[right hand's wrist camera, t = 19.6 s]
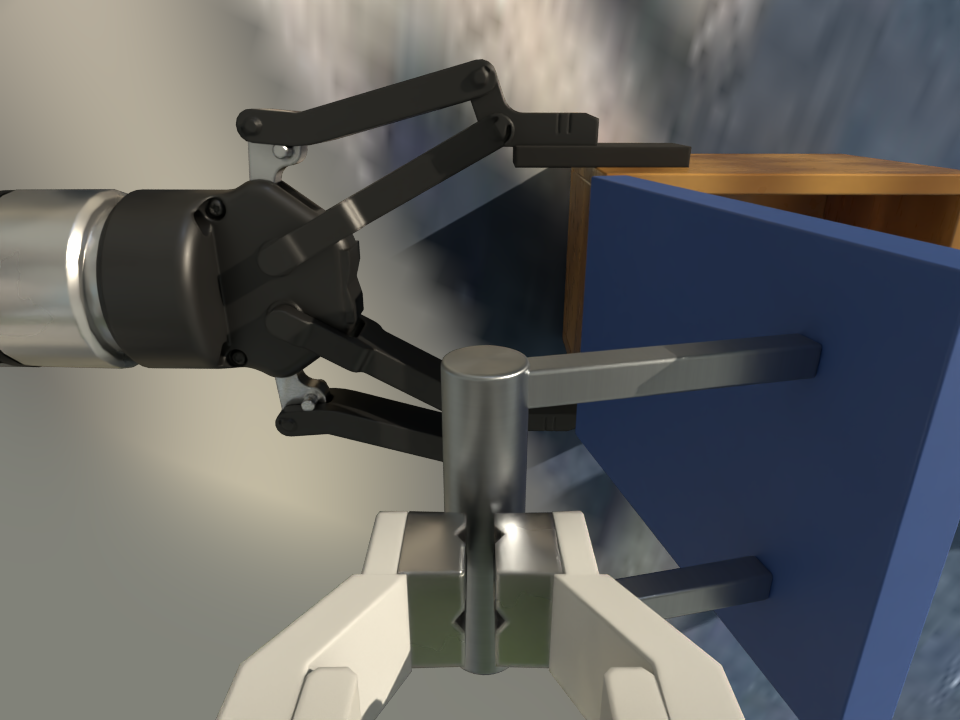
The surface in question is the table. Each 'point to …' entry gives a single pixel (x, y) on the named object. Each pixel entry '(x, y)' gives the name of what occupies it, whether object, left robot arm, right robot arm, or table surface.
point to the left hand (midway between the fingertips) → (665, 283)
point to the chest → (786, 201)
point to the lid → (745, 431)
